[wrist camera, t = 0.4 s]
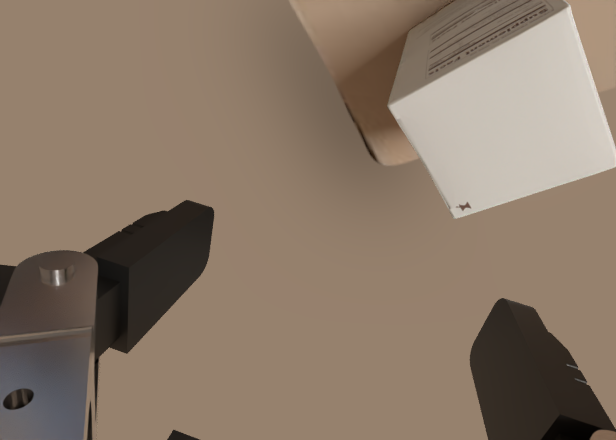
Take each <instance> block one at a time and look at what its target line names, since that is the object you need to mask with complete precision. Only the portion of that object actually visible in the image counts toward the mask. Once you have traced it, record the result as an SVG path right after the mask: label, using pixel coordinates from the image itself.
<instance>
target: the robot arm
mask: <svg viewBox="0 0 616 440" xmlns="http://www.w3.org/2000/svg"><path fill="white" fill-rule="evenodd" d="M213 221H214V210H213V208H212V207H209V206H205V205H202V204H199V203H196V202H192V201H189V200H186V201H184V202H182V203H180V204H179V205H177V206H176V207H174V208H173V209H171V210H169V211H168V212H167V211H160V212H157V213H152V214H148V215H145V216H144V217H142V218H140V219H139V220H137V221H135V222H134V223H133V224H132V225H129V226H127V227H125V228H123V229H122V231H121V232H120V231H118V232H117V233H115V234H114V235H112V236H110V237H108V238H107V239H105V240H104V241H102V242H100V243H98V244H97V245H95V246H93V247H92V248H90V249H88V250H87V251H85V252H83V253H82V252H77V251H69V250H59V251H50V252H45V253H40V254H37V255H34V256H32V257H29V258H27V259H26V260H24V261H22V262H21V263H20V264H19V265H18V266H17V267H16V266H7V265H0V440H97V417H98V393H99V370H100V369H99V368H100V356H101V355H102V353H104V352H105V351H106V350H107V349H108V348H109V347H110V348H113V349H115V350H118V351H121V352H124V353H128V352H129V351H130V350H131V349H132V348H133V347H134V346H135V345H136V344H137V342H139V341H140V339H141V338H142V337H143V336H144V335H145V334H146V333H147V332H148V331H149V330H150V329H151V328H152V326H153V325H155V323H156V322H157V321H158V320H159V319H160V318H161V317H162V316H163V315H164V314H165V313H166V312H167V311H168V309H169V308H170V307H171V306H172V305H173V304H174V303H175V302H176V301H177V300H178V299H179V298H180V297H181V295H182V294H184V292H185V291H186V290H187V289H188V288H189V287H190V286H191V285H192V284H193V283H194V282H195V281H196V279H198V277H199V276H200V275H201V273H202V272H203V271H204V269H205V267H206V264H207V261H208V258H209V252H210V244H211V236H212V229H213ZM470 367H471V371H472V375H473V379H474V383H475V387H476V391H477V395H478V400H479V404H480V408H481V412H482V416H483V420H484V424H485V428H486V432H487V436H488V440H616V429H615V427H614V426H613V424H612V422H611V421H610V419H609V417H608V416H607V414H606V412H605V411H604V409H603V407H602V406H601V404H600V402H599V401H598V399H597V397H596V396H595V394H594V392H593V391H592V389H591V388H590V386H589V385H587V384H586V383H587V381H586V379H585V377H584V376H583V374H582V372H581V371H580V370H578V366H577V364H576V363H575V361H574V359H573V358H572V356H571V354H570V353H569V351H568V350H567V349H566V348H565V347H564V346H563V345H562V344H561V343H560V342H559V341H558V340H557V339H556V338H555V337H554V336H553V335H552V334H551V333H549V332H548V331H547V329H546V327H545V326H544V324H543V322H542V320H541V319H540V317H539V315H538V313H537V312H536V310H535V309H534V308H532V307H530V306H527V305H523V304H520V303H517V302H514V301H510V300H507V299H504V298H502V299H500V300H498V301H497V302H496V303H495V305H494V307H493V308H492V310H491V312H490V314H489V316H488V318H487V319H486V321H485V323H484V325H483V327H482V328H481V330H480V332H479V334H478V336H477V338H476V340H475V341H474V343H473V346H472V349H471V354H470ZM167 440H199V439H197V438H194V437H191V436H188V435H186V434H183V433H181V432H178V431H175V430H173V431H172V433H171V435H170V436H169V438H168V439H167Z"/></svg>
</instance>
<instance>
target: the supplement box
mask: <svg viewBox="0 0 616 440" xmlns="http://www.w3.org/2000/svg"><path fill="white" fill-rule="evenodd" d="M387 107H388V109H389V110H390V112H391V113H392V115H393V117H394V118H395V120H396V121H397V123H398V124H399V126H400V127H401V129H402V131H403V132H404V134H405V135H406V137H407V139H408V140H409V142H410V143H411V145H412V147H413V148H414V150H415V151H416V153H417V155H418V156H419V158H420V159H421V161H422V163H423V164H424V166H425V168H426V170H427V171H428V173H429V175H430V177H431V178H432V180H433V182H434V183H435V185H436V187H437V189H438V191H439V192H440V194H441V196H442V198H443V200H444V201H445V203H446V205H447V207H448V209H449V211H450V213H451V215H452V217H453V218H454V219H456V218H459V217H462V216H466V215H469V214H472V213H475V212H479V211H482V210H485V209H488V208H491V207H494V206H497V205H500V204H503V203H506V202H509V201H512V200H516V199H518V198H522V197H525V196H528V195H531V194H534V193H537V192H540V191H544V190H547V189H550V188H553V187H556V186H559V185H562V184H565V183H569V182H572V181H575V180H578V179H581V178H584V177H587V176H591V175H594V174H597V173H599V172H602V171H605V170H608V169H611V168H614V167H616V147H615V144H614V141H613V138H612V135H611V132H610V129H609V126H608V123H607V120H606V117H605V114H604V111H603V108H602V104H601V102H600V98H599V95H598V92H597V89H596V86H595V83H594V80H593V77H592V74H591V71H590V68H589V65H588V62H587V59H586V56H585V52H584V49H583V46H582V43H581V40H580V37H579V34H578V31H577V28H576V24H575V21H574V18H573V15H572V11H571V6H570V4H568V3H567V2H566V1H565V0H455V1H454V2H452V3H451V4H449V5H448V6H446V7H444V8H443V9H441V10H440V11H438V12H437V13H435V14H434V15H432V16H431V17H429V18H428V19H426V20H424V21H423V22H421V23H420V24H418V25H417V26H415V27H414V28H412V29H411V30H410V31H409V32H408V36H407V39H406V43H405V46H404V50H403V53H402V57H401V60H400V63H399V67H398V70H397V74H396V77H395V81H394V84H393V87H392V90H391V94H390V97H389V101H388V104H387Z"/></svg>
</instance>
